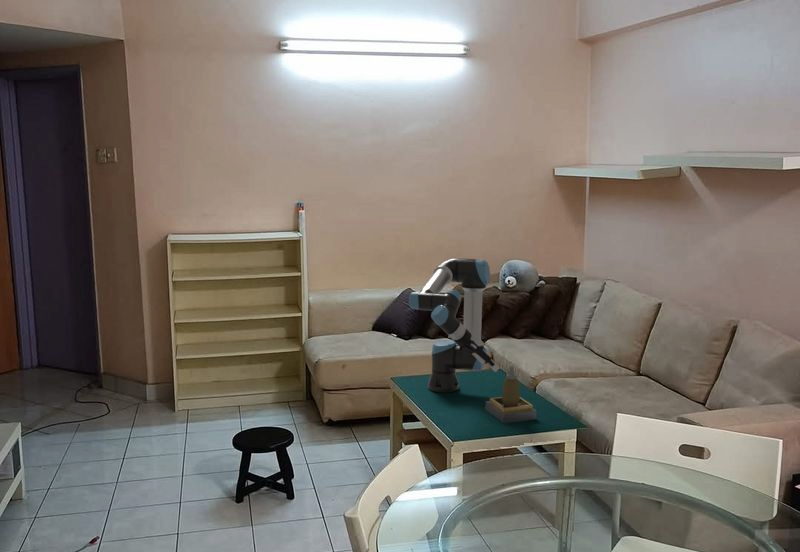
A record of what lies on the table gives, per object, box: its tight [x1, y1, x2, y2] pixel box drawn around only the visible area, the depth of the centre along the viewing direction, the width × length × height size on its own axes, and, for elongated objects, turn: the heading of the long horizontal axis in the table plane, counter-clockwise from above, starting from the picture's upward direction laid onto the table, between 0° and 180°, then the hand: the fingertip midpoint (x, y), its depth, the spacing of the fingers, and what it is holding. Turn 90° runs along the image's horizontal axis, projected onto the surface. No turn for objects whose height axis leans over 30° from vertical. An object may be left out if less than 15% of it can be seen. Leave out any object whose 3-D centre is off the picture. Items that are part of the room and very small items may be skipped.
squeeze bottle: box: [501, 366, 521, 407], centre depth 348 cm, size 8×8×18 cm
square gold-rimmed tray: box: [484, 396, 538, 424], centre depth 349 cm, size 18×16×6 cm
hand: (490, 365), depth 342 cm, fingers open, 13 cm apart
